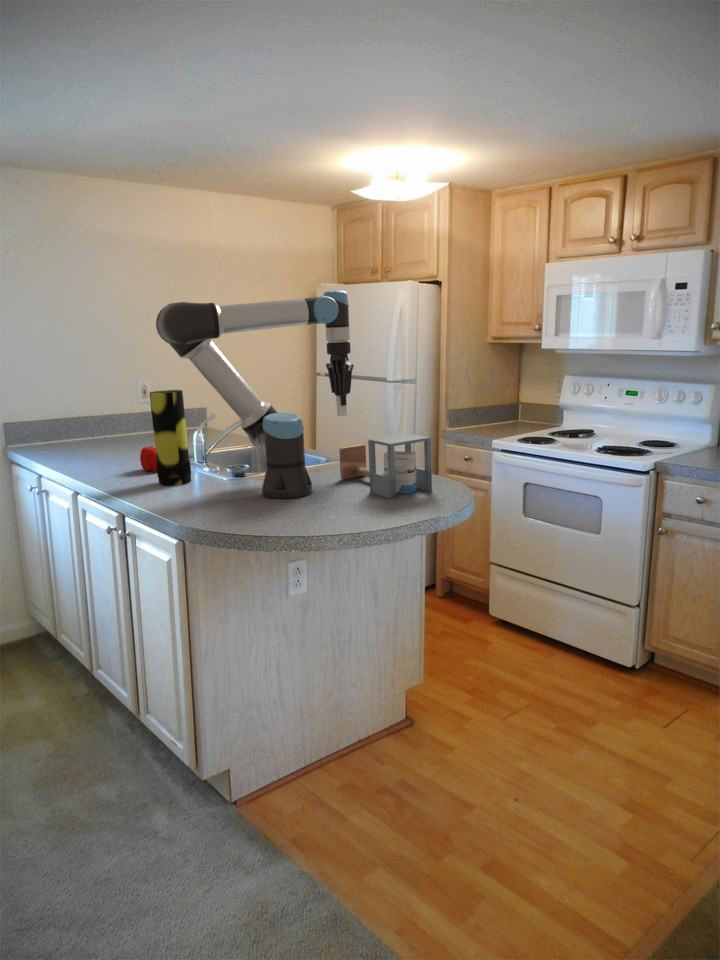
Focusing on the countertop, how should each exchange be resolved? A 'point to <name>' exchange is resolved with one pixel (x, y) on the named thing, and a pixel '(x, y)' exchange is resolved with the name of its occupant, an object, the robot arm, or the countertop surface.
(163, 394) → the container
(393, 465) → the grey open frame holder
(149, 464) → the tomato
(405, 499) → the countertop surface
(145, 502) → the countertop surface
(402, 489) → the ink box
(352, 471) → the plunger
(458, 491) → the countertop surface
